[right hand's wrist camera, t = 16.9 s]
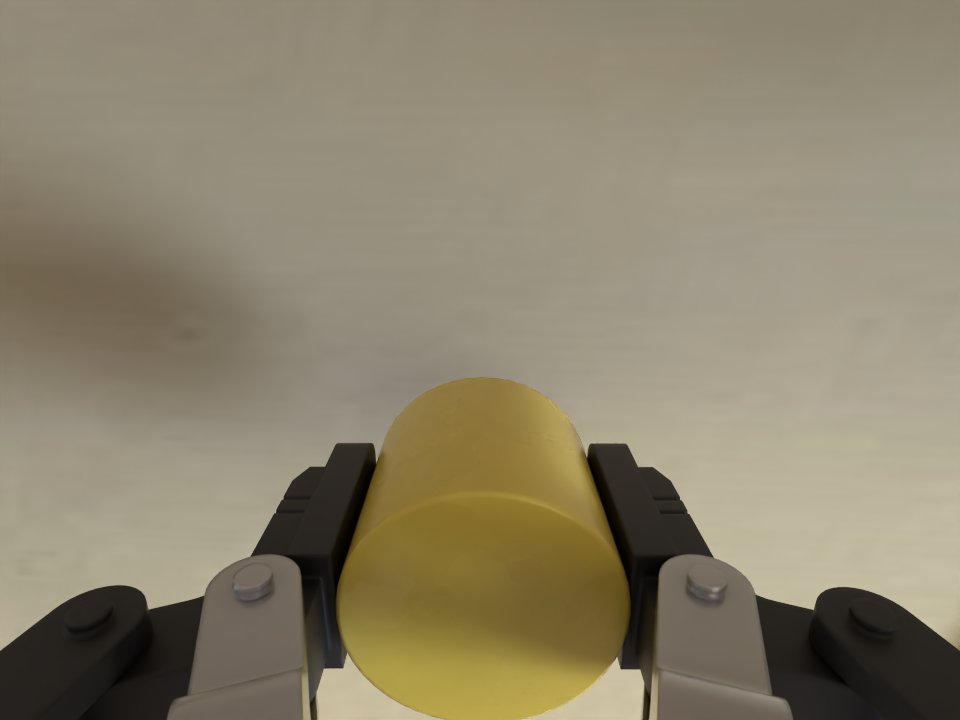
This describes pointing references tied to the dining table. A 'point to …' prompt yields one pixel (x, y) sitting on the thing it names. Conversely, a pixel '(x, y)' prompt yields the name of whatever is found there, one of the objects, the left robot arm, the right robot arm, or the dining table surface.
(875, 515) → the dining table surface
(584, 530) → the cylinder
